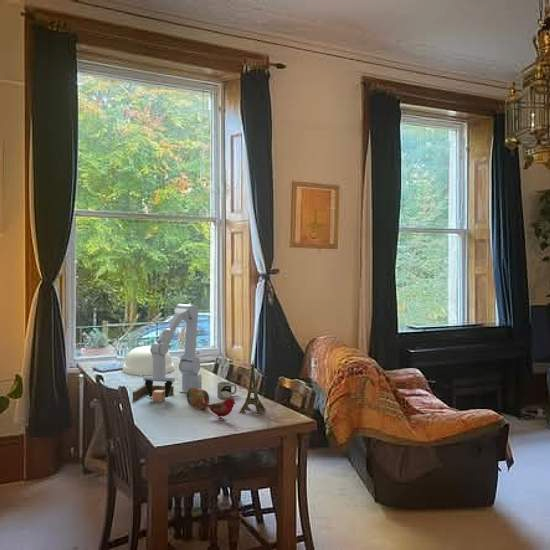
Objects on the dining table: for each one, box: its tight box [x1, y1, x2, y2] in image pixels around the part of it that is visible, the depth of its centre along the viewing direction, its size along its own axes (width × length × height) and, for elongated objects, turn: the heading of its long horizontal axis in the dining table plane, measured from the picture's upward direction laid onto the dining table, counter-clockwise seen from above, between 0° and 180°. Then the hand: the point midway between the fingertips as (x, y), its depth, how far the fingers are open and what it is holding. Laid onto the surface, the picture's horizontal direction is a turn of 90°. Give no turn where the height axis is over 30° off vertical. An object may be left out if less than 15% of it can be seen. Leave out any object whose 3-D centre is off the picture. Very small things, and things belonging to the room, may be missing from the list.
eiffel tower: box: [238, 361, 266, 416], centre depth 245 cm, size 11×11×25 cm
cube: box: [152, 390, 166, 402], centre depth 261 cm, size 4×4×4 cm
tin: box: [186, 388, 210, 410], centre depth 250 cm, size 15×3×8 cm, turn 40°
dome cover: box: [122, 345, 175, 376], centre depth 330 cm, size 32×30×14 cm
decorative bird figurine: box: [201, 397, 236, 421], centre depth 232 cm, size 3×18×10 cm, turn 61°
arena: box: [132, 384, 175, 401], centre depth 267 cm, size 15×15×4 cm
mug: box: [216, 381, 238, 400], centre depth 270 cm, size 10×7×7 cm
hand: (158, 396), depth 261 cm, fingers open, 7 cm apart
